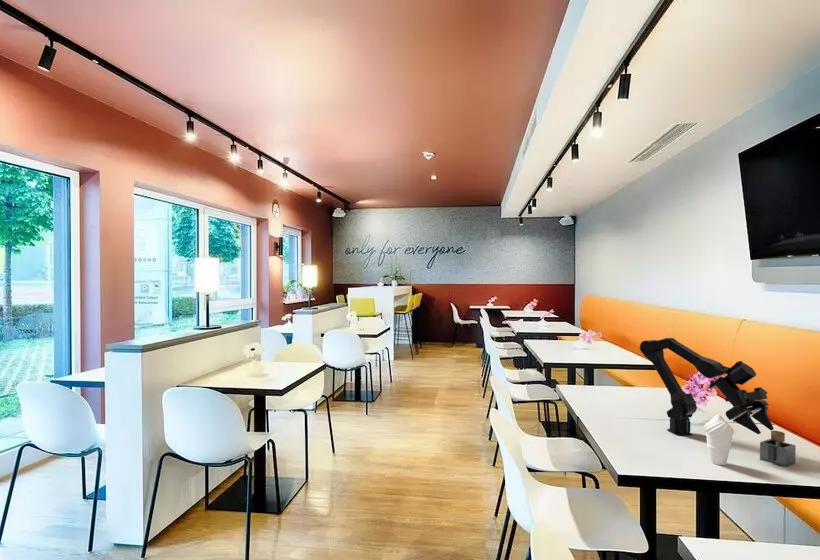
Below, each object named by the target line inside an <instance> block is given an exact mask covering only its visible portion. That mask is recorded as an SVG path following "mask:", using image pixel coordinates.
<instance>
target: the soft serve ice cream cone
mask: <svg viewBox="0 0 820 560" xmlns="http://www.w3.org/2000/svg"><path fill="white" fill-rule="evenodd" d="M703 429H704V432H705V436H706V446H707V451H708V455H709V459H710V460H709V461H710V463H712V464H714V465H717V466H726V465H727V463H728V462H727V461H728V459H729V454H730V451H731V450H732V449H731V448H732V447H731V444H732V440H733V436H734V433H735V430H734V428H733V426H731V424H729V422H728V421H726V419H725V418H724V417H723V416H722V415H721V414H719V413H718V414H716V415H714V417H712V418H711V420H710V421H708V422H707V423H705V424H704V427H703Z"/></svg>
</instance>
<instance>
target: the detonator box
mask: <svg viewBox="0 0 820 560" xmlns="http://www.w3.org/2000/svg"><path fill="white" fill-rule="evenodd" d="M796 452H797V451H796V444H792V443H788V442H780V447H779V446H776V441H774V440H772V439H771V438H769V439H766V440H762V441H760V442H759V460H760V461H763V462H767V463H770V464H772V465H776V466H779V467H782V468H783V467H784V468H787V467H790V466H791V465H792V466H793V465H795V464H796Z"/></svg>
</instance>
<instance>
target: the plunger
mask: <svg viewBox="0 0 820 560" xmlns="http://www.w3.org/2000/svg"><path fill="white" fill-rule="evenodd" d="M785 434H786V433H785V432H784V431H783V432H782V431H780V430H770V439H772V440H774V441H776V446H779V447H780V442H785V441H786V439H785V438H786V437H785V436H786V435H785ZM785 443H786V442H785Z"/></svg>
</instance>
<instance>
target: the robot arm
mask: <svg viewBox="0 0 820 560" xmlns="http://www.w3.org/2000/svg"><path fill="white" fill-rule="evenodd" d="M666 349H667V350H669V351H671V352H673V353H675V355H676V356H679V357H680V358H681V359H683V360H685V361H687V362H688V363H690V364H691V365H693V366H694V368H696V370H697V371H698V372H699V374H701V375H702V377H705V378H707V379H713V380H710V381H709V382H710V383H709V386H708V387H709V388H710V389H714V388H717V389H718V390H719V392H720V393H721V394H722V395H723V396H724V397H725V398H724V401H725V402H729V404H730V405H731V406H732V407H731V408H729V409H728V410H726V411H725V417H726V418H727V419H728V420H729V421H732V422H735V423H737V424H739V425H740V426H743V427H744V428H745V429H746V428H747V429H748V430H749V431H751V432H753V433H754V434H757V435H760V434H762V431H761V430H760V429H759V427H758V426H757V424H756V423H755V421H754V420H756V421H757V422H758V423H760V424H761V425H763V426H764V427H765V428H766V429H768V430H770V431H774V429H775V427H774V425H773V424H772V422H771V419H770V418H769V415H768V409H769V405H770V404H769V403H768V402H767V401H766V400H767V399H768V397H767V396H768V391H766V390H765V389H763V388H762V387H761V386H760V387H755V388H754V389H753V391H747V390H746V389H741V388H740V386H743V385H745V384H747V383H748V382H749V381H750V380H752V379H754V378H755V377H756V376H757V373H756V371H755V370H754V368H753V367H751V366H750V365H748V364H746V363H744V362H743V361H742V360H738V361H736V362H735V364H733V365H732V366H731V367H729V366H728V367H727V366H724V365H723V364H722V363H721V362H719V361H716V360H714V359H712V358H708V357H705V356H702V355H700V354H699V353H697V352H696V351H694V350H693V349H690V348H689V347H687V346H686V345H684V344H682V343H681V342H679V341H678V340H677V339H676V338H674V337H666V338H665V337H664V338H663V339H657V340H656V339H650V340H647V339H646V340H643V341H641V342H640V345H639V351H640V353H642V355H643V356H644V357H645V358H646V359H647V360H648V361H650V362H651V363H652V364H653V366H654V368H655V370H656V372H657V374H658V376H659V378H660V379H661V381H662V383H663V385H664V386H665V388H666V389H667V391H668V393H669V396H670V404H671V406H672V407H671V408H670V409H668V410H667V411H666V414H667V417H668V418H669V428H666V431H668V432H670V433H672V434H674V435H676V436H692V435H693V433H692V432H691V418H692V417H693V415H694V414H695V413H696V412H697V409H698V406H697V401H696V400H695V399H694V396H693V394H692V393H686V392H685V391H684V390H683V388H682V387H681V385H680V383H679V382H678V380H677V378H676V377H675V375H674V373H673V372H672V369H671V368H670V366H669V364H668V362H667V361H666V359H665V352H664V350H666ZM714 378H717V379H715V380H714ZM738 385H740V386H738ZM752 418H753V419H754V420H753V419H752Z"/></svg>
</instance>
